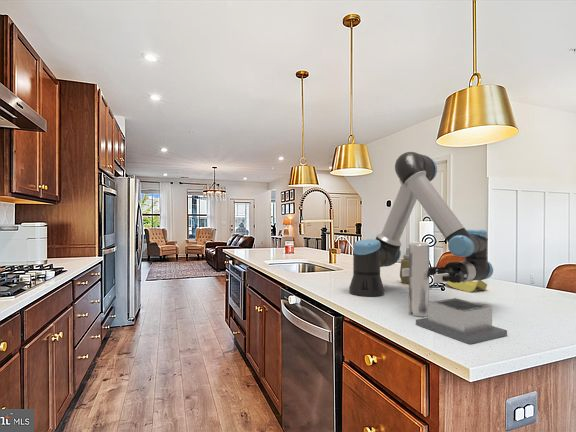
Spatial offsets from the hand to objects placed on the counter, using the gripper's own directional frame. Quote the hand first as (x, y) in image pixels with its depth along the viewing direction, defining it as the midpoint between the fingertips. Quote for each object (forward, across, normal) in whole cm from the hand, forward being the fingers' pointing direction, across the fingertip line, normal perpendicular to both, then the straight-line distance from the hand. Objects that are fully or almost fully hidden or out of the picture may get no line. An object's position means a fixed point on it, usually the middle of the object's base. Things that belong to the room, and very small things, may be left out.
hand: (417, 275), depth 113 cm
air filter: (-1, 0, -14) cm, 14 cm away
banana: (-57, +24, -14) cm, 64 cm away
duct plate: (+1, -16, -13) cm, 21 cm away
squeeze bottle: (-42, +44, -14) cm, 62 cm away
